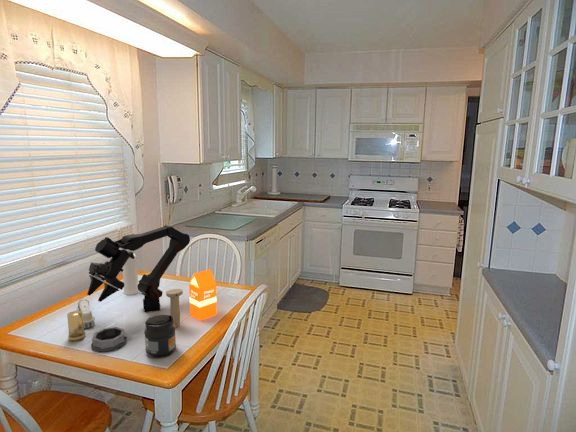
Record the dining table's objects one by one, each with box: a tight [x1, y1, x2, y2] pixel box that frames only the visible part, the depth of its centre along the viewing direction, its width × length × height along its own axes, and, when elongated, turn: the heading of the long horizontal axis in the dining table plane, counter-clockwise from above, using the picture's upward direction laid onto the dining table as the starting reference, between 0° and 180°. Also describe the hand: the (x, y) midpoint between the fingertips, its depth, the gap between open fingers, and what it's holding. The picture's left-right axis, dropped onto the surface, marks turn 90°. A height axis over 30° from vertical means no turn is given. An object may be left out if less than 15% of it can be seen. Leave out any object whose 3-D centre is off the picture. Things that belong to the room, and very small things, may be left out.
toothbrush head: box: [77, 298, 95, 329], centre depth 160 cm, size 5×7×25 cm
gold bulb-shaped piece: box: [66, 310, 86, 343], centre depth 142 cm, size 6×6×10 cm
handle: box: [165, 288, 184, 328], centre depth 153 cm, size 5×6×15 cm
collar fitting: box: [90, 326, 128, 353], centre depth 139 cm, size 12×12×4 cm
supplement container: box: [143, 313, 177, 359], centre depth 134 cm, size 10×10×12 cm
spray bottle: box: [122, 249, 139, 296], centre depth 185 cm, size 7×7×25 cm
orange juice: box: [188, 269, 218, 322], centre depth 163 cm, size 8×9×20 cm
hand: (93, 298), depth 148 cm, fingers open, 9 cm apart
